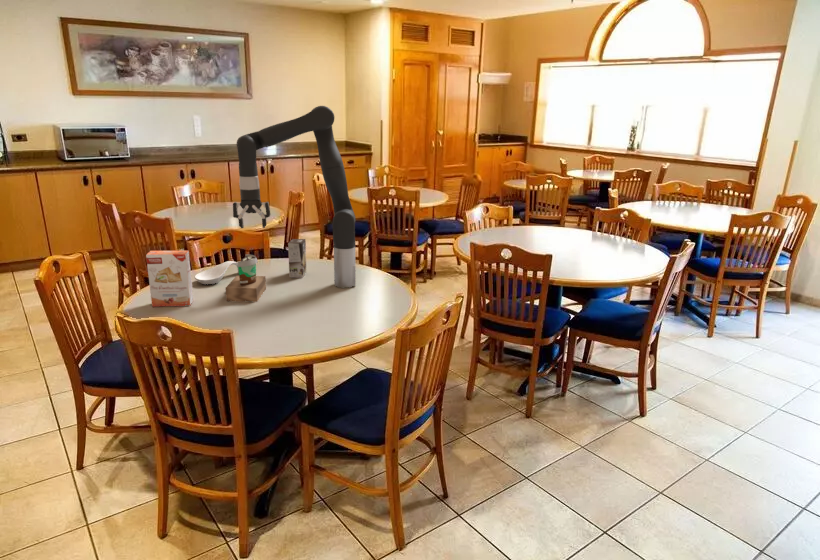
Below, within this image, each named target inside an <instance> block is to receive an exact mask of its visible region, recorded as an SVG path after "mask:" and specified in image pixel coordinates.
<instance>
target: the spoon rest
mask: <svg viewBox="0 0 820 560" xmlns="http://www.w3.org/2000/svg"><path fill="white" fill-rule="evenodd" d="M237 263H238V261H237V262H236V261H233V260H227V261H225V262H222V263H220V264H218V265H216V266H214V267H211V268H208V269H206V270H203V271H201V272H198V273H196V274H195V275H194V279H195V280H196V281H197V282H198V283H200V284H201V285H202V284H203V285H206V284H207V285H206V286H208V284H212V285H216V284H218V283H219V282H221V280H222V279H223V277H224V275H225V273H226V272H227V270H228V269H229V267H230V266H233V265H235V266H236V267H237V274H239V270H238V264H237ZM215 283H216V284H215Z"/></svg>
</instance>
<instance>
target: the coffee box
mask: <svg viewBox="0 0 820 560" xmlns="http://www.w3.org/2000/svg"><path fill="white" fill-rule="evenodd" d="M287 245H288V246H287V247H288V248H287V249H288V250H287V251H288V272H289V275H288V276H289V278H298V279H299V278H301V279H303V278H304V276H305V275H306V274H307V272H308V270H307V250H306V249H307V248H306V247H307V246H306V238H292V239H291V240H289V242H288V243H287ZM305 273H306V274H305ZM302 277H303V278H302Z"/></svg>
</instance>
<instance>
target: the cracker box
mask: <svg viewBox="0 0 820 560" xmlns="http://www.w3.org/2000/svg"><path fill="white" fill-rule="evenodd" d="M145 257H146V259H145V260H146V265H147V274H148V283H149V289H150V290H149V292H150V300H151V307H155V308H156V307H186V306H185V305H190V306H191V305H192V304H191V303H193V302H194V295H193V292H194V291H193V281H192V273H191V262H190V251H189V250H149V252H147V254H146V255H145Z"/></svg>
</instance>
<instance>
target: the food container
mask: <svg viewBox="0 0 820 560" xmlns="http://www.w3.org/2000/svg"><path fill="white" fill-rule="evenodd" d="M237 264H238V269H237V271H238V270H239V273H238V276H239V279H240V285H248V284H252V283H255V282H256V276H257V264H258V258H257V256H256V255H254V254H246V253H245V256H244V258H241V260H239V261H237Z"/></svg>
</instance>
